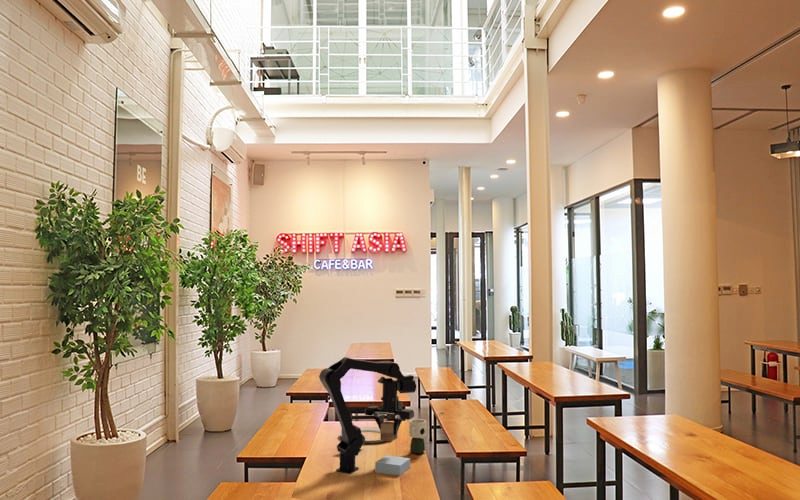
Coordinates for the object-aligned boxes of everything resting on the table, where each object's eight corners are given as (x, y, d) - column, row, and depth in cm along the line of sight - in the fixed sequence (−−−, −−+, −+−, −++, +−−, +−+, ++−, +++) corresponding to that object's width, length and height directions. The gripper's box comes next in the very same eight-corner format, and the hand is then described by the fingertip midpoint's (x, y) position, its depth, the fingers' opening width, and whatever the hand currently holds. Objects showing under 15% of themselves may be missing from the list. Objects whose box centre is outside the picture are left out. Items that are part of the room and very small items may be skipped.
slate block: (400, 476, 226) (400, 465, 227) (375, 473, 230) (375, 462, 230) (410, 469, 236) (410, 458, 236) (385, 465, 240) (386, 455, 240)
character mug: (420, 457, 251) (420, 424, 251) (404, 454, 254) (404, 422, 254) (430, 450, 260) (430, 419, 261) (415, 448, 263) (415, 417, 264)
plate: (330, 442, 273) (330, 437, 273) (352, 429, 297) (352, 424, 297) (385, 447, 265) (385, 442, 266) (402, 433, 290) (403, 429, 290)
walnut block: (392, 441, 237) (392, 425, 237) (380, 439, 239) (380, 423, 239) (397, 438, 242) (397, 422, 242) (385, 436, 244) (385, 421, 244)
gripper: (419, 393, 245) (418, 433, 244) (376, 389, 252) (375, 427, 251) (409, 397, 235) (408, 439, 234) (364, 393, 242) (363, 433, 241)
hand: (388, 434), depth 240 cm, fingers closed on walnut block, 5 cm apart
